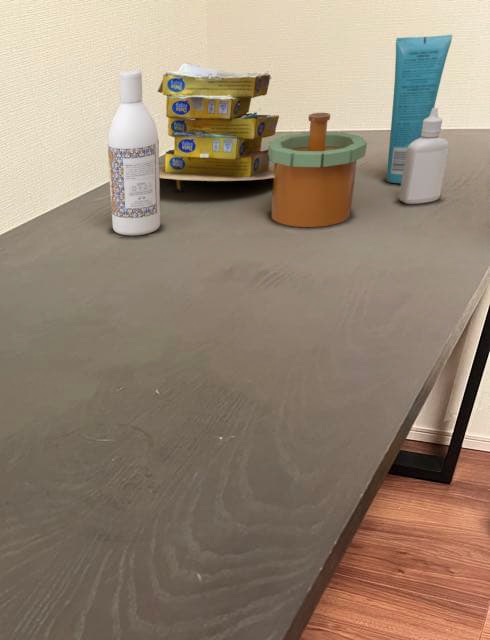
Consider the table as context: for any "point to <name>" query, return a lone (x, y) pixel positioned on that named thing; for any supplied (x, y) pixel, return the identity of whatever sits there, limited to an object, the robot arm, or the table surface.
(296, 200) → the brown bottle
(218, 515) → the table surface
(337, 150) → the rubber ring
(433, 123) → the eye dropper bottle
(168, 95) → the stacked yellow boxes
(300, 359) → the table surface
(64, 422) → the table surface
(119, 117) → the bath foam
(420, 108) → the tube
